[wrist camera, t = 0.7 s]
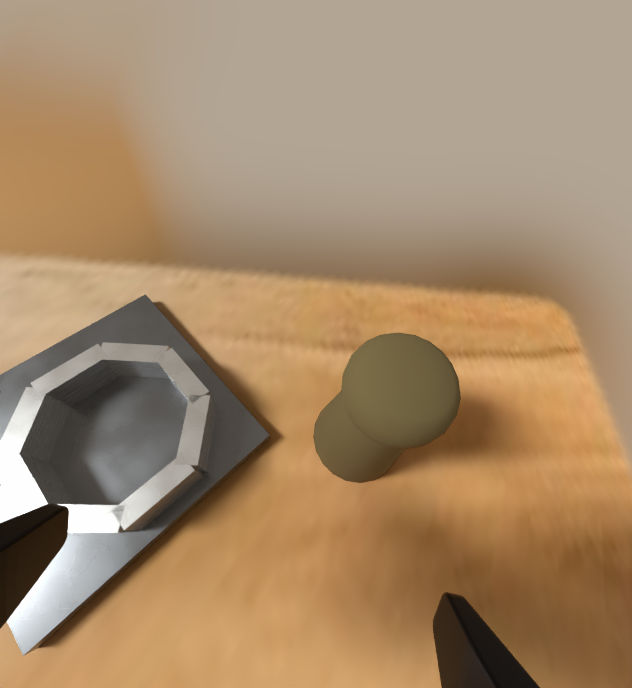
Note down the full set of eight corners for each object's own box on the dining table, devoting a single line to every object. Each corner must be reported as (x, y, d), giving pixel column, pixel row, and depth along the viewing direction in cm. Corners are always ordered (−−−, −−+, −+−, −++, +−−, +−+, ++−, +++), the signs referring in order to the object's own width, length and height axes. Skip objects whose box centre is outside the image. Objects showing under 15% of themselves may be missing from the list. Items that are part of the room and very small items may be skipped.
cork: (352, 503, 21) (416, 485, 11) (296, 427, 23) (309, 356, 13) (415, 445, 23) (514, 388, 13) (359, 380, 25) (410, 291, 15)
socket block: (269, 438, 22) (268, 424, 19) (36, 648, 16) (-21, 678, 13) (149, 302, 26) (132, 272, 23) (-70, 426, 20) (-132, 409, 17)
